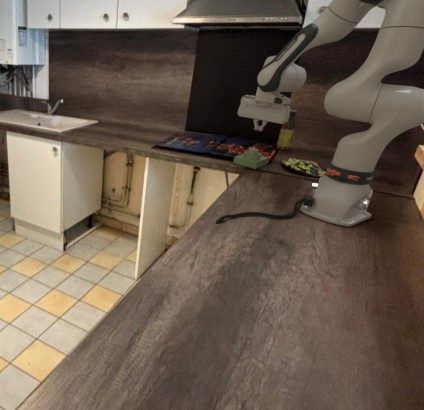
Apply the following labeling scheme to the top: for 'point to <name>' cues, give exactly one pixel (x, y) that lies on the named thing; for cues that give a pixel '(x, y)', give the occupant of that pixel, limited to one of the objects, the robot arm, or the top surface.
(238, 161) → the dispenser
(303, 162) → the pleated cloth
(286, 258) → the top surface
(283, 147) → the sauce bottle
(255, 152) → the pump
